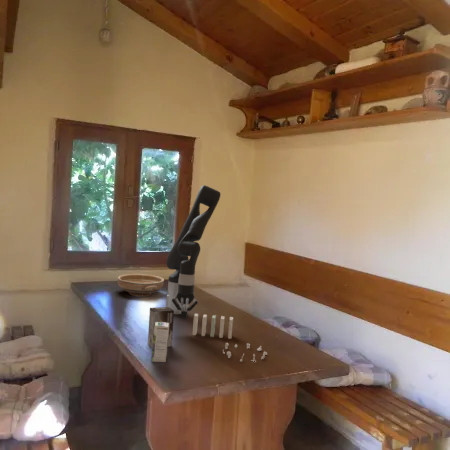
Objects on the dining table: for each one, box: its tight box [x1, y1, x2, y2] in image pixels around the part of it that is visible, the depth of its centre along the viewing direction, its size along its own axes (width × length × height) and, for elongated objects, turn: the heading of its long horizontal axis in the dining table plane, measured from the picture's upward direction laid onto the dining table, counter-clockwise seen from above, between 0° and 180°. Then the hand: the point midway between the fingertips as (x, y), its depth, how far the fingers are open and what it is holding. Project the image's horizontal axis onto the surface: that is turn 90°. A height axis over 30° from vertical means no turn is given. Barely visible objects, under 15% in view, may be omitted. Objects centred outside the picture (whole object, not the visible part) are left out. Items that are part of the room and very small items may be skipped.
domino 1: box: [192, 313, 199, 336], centre depth 229 cm, size 2×5×9 cm, turn 177°
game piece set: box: [222, 342, 268, 363], centre depth 206 cm, size 19×20×4 cm
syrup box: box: [151, 322, 169, 363], centre depth 191 cm, size 6×6×14 cm
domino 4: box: [218, 315, 225, 339], centre depth 228 cm, size 2×5×9 cm, turn 177°
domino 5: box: [227, 316, 234, 340], centre depth 228 cm, size 2×5×9 cm, turn 177°
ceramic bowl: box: [117, 273, 165, 297], centre depth 299 cm, size 37×29×10 cm
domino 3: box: [209, 314, 217, 338], centre depth 228 cm, size 2×5×9 cm, turn 177°
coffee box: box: [147, 306, 175, 348], centre depth 208 cm, size 9×6×16 cm
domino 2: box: [201, 313, 208, 337], centre depth 229 cm, size 2×5×9 cm, turn 177°
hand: (183, 318), depth 229 cm, fingers closed
